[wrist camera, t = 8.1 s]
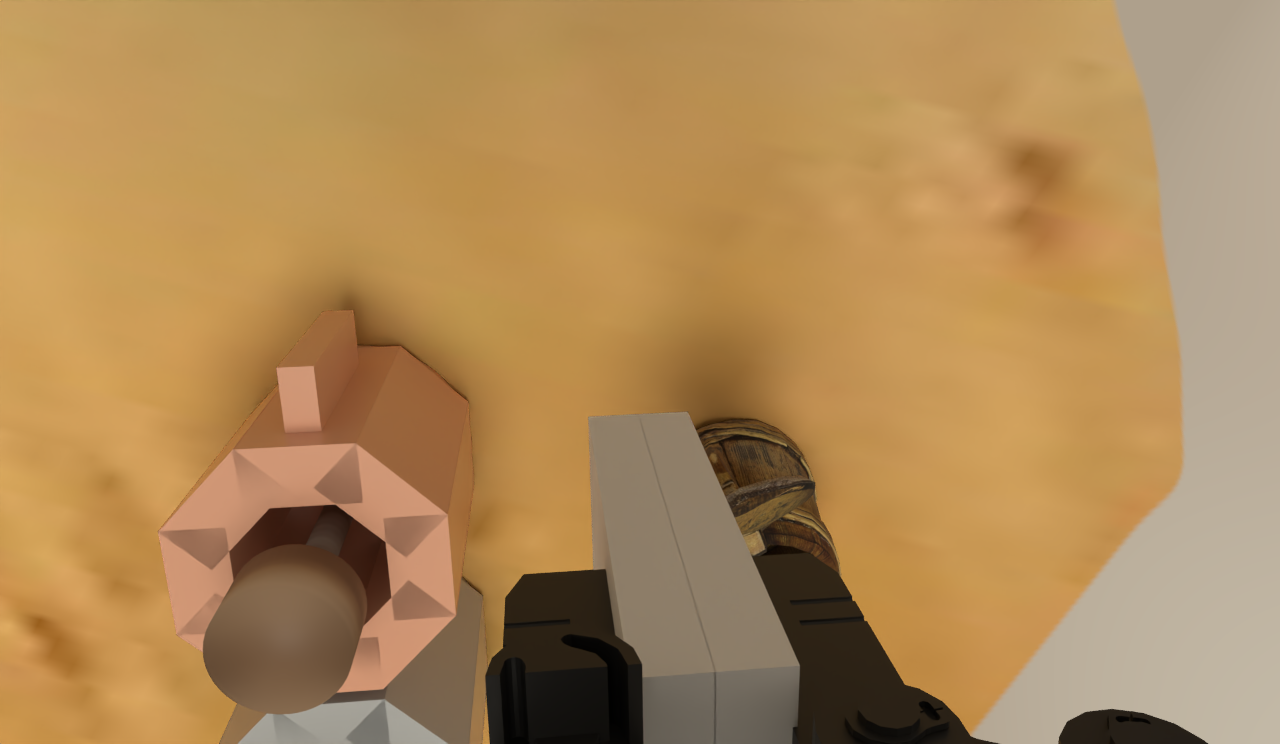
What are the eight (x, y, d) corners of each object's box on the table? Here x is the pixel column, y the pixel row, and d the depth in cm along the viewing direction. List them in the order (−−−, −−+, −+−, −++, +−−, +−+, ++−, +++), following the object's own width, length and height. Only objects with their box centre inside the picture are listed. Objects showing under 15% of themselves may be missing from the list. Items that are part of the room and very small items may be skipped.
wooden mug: (751, 319, 53) (856, 444, 36) (832, 527, 57) (961, 728, 40) (598, 385, 53) (630, 541, 36) (690, 587, 57) (757, 812, 40)
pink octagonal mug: (238, 298, 49) (130, 385, 36) (461, 289, 50) (436, 372, 37) (273, 544, 54) (189, 704, 40) (478, 531, 55) (461, 683, 41)
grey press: (275, 552, 54) (190, 714, 40) (479, 539, 55) (462, 693, 42) (304, 761, 58) (237, 970, 45) (494, 746, 59) (483, 945, 46)
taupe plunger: (299, 424, 48) (192, 593, 33) (403, 418, 49) (344, 583, 34) (311, 516, 50) (214, 719, 35) (412, 510, 50) (359, 708, 35)
